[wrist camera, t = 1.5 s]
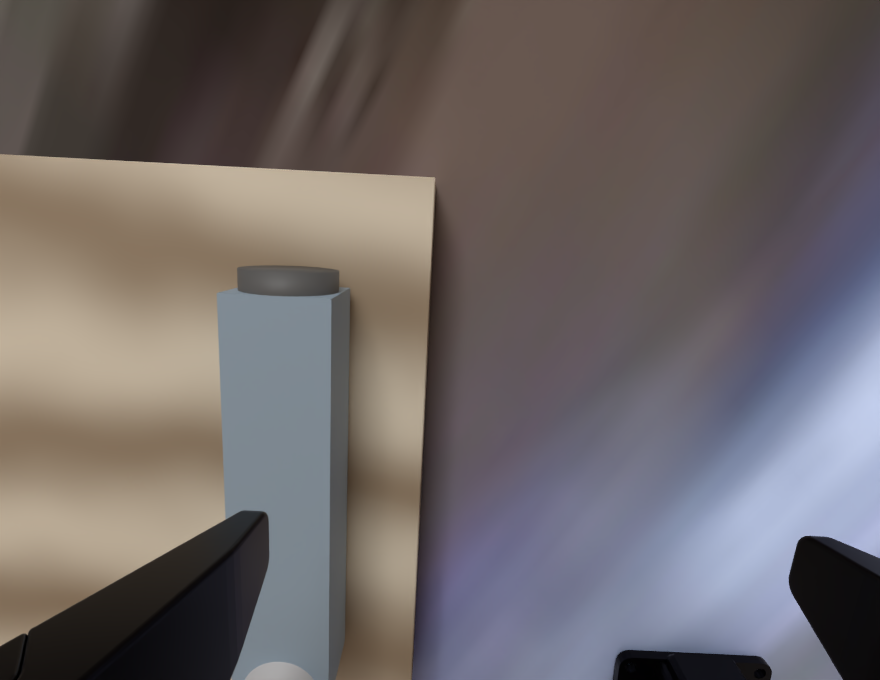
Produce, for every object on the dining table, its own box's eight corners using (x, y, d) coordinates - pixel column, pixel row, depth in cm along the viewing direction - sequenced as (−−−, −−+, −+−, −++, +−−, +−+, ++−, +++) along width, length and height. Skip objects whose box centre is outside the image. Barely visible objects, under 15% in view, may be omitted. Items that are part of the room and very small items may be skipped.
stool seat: (413, 660, 22) (409, 714, 20) (-48, 639, 22) (-108, 690, 20) (435, 185, 18) (434, 177, 16) (-130, 155, 18) (-220, 142, 15)
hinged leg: (344, 656, 19) (322, 753, 15) (263, 652, 19) (222, 748, 15) (350, 268, 16) (324, 278, 12) (254, 263, 16) (201, 271, 12)
